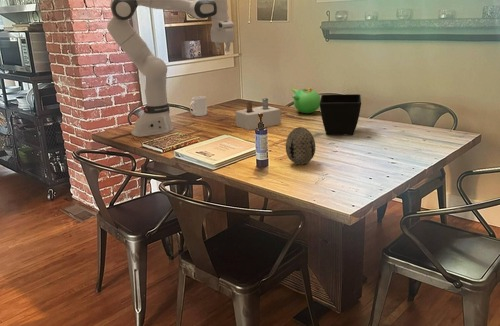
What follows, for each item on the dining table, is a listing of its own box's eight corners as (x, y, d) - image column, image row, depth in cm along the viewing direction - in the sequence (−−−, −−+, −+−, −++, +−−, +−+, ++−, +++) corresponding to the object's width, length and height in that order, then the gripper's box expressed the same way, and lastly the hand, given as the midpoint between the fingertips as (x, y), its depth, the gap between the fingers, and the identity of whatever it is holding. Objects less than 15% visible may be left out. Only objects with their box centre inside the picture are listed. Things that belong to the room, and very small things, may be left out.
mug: (186, 116, 277) (184, 99, 274) (201, 112, 285) (199, 95, 282) (195, 118, 272) (193, 100, 268) (210, 114, 280) (208, 96, 276)
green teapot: (322, 115, 259) (322, 89, 255) (293, 116, 260) (292, 91, 255) (318, 108, 276) (318, 84, 272) (290, 110, 277) (290, 86, 272)
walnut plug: (249, 119, 242) (248, 102, 239) (246, 118, 244) (245, 101, 241) (254, 118, 243) (253, 101, 240) (251, 117, 246) (250, 100, 243)
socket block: (249, 130, 237) (248, 115, 234) (236, 125, 249) (235, 111, 246) (281, 123, 246) (280, 109, 244) (267, 119, 258) (266, 105, 255)
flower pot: (360, 137, 213) (361, 101, 208) (319, 137, 217) (319, 102, 212) (359, 127, 231) (360, 94, 225) (321, 127, 234) (321, 94, 229)
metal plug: (265, 116, 246) (264, 99, 243) (261, 115, 249) (261, 99, 246) (269, 115, 248) (269, 98, 245) (266, 114, 250) (266, 98, 247)
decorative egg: (321, 162, 183) (321, 125, 178) (304, 170, 174) (303, 132, 170) (297, 157, 190) (296, 122, 185) (280, 165, 182) (278, 128, 177)
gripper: (206, 24, 245) (209, 51, 249) (224, 24, 228) (227, 52, 233) (216, 23, 248) (219, 49, 252) (235, 23, 231) (237, 51, 235)
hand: (223, 51), depth 242 cm, fingers open, 8 cm apart
